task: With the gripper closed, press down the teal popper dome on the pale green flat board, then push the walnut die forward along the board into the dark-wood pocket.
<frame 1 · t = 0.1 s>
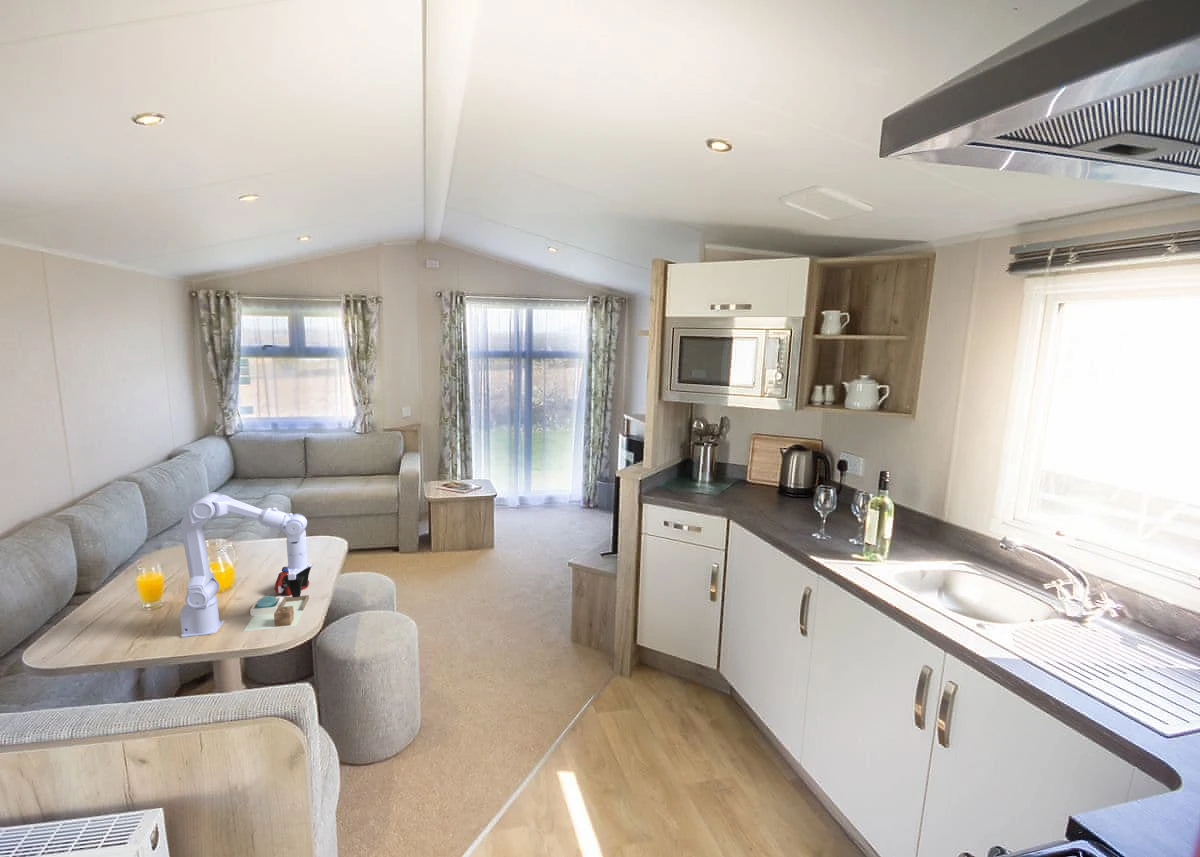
hand: (299, 591, 182), 10 cm above the table, fingers open, 7 cm apart
die: (284, 622, 181), point 1 cm above the table, touching pale green flat board
toy fire truck: (292, 591, 204), on the table
dome: (266, 601, 188), point 4 cm above the table, slide at 0.4 cm
pale green flat board: (278, 615, 186), on the table
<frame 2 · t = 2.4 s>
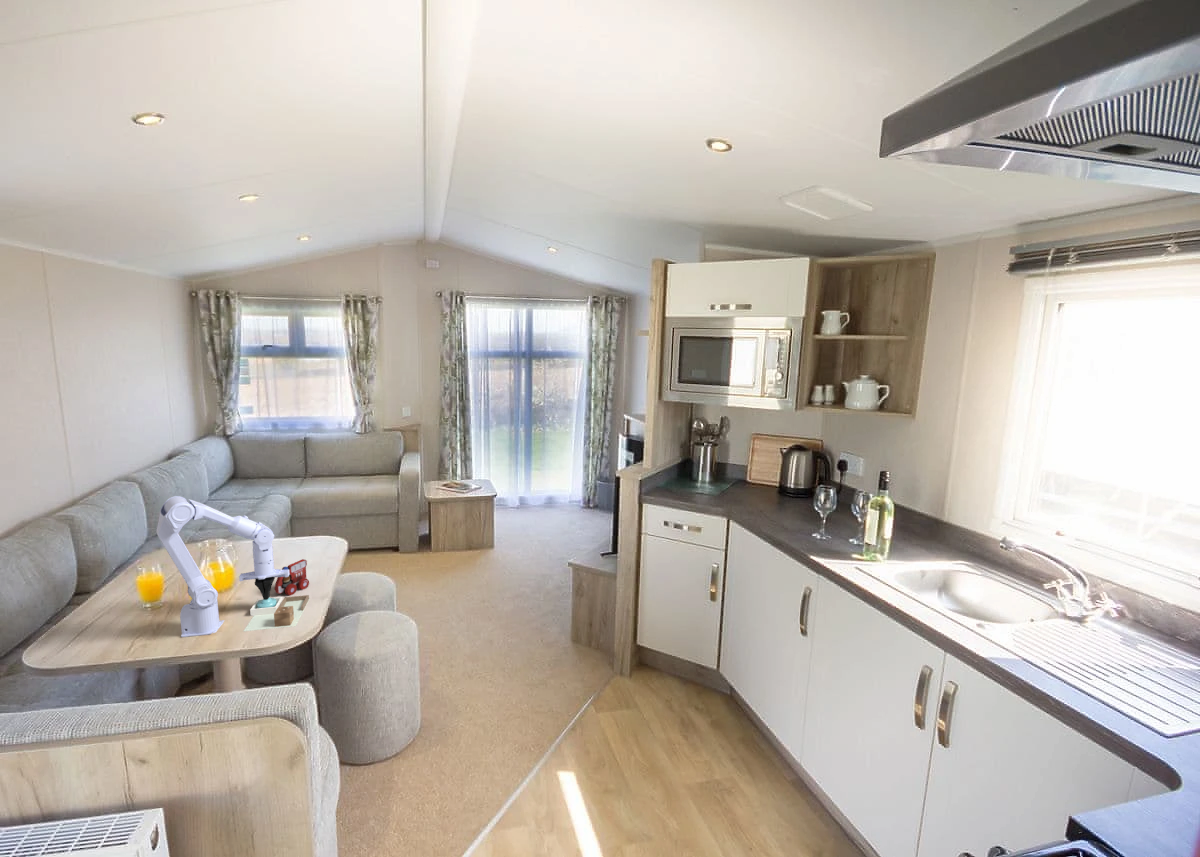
hand: (266, 598, 188), 5 cm above the table, fingers closed, pressing on dome
dome: (266, 602, 188), point 3 cm above the table, slide at 1.1 cm, touching gripper
everything else where it was.
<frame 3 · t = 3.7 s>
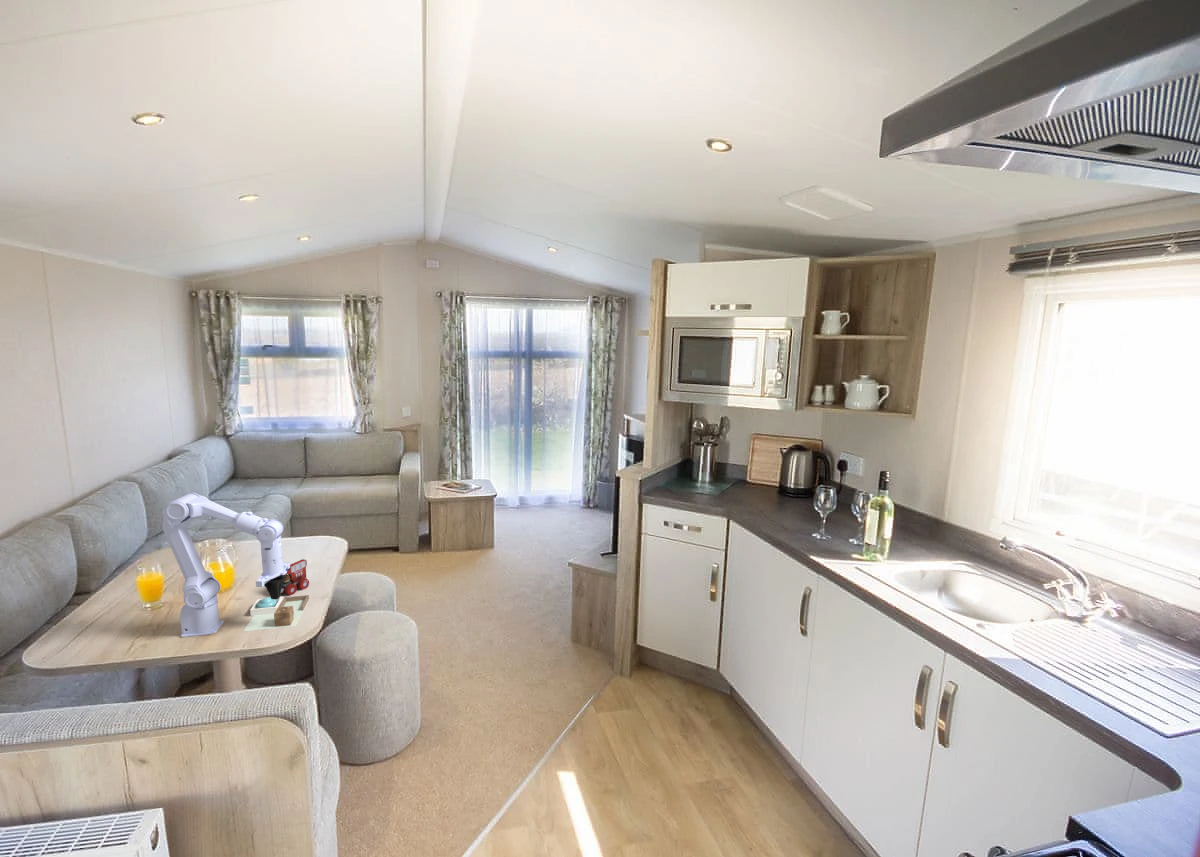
hand: (275, 598, 178), 10 cm above the table, fingers closed
dome: (266, 602, 188), point 3 cm above the table, slide at 1.0 cm
everything else where it was.
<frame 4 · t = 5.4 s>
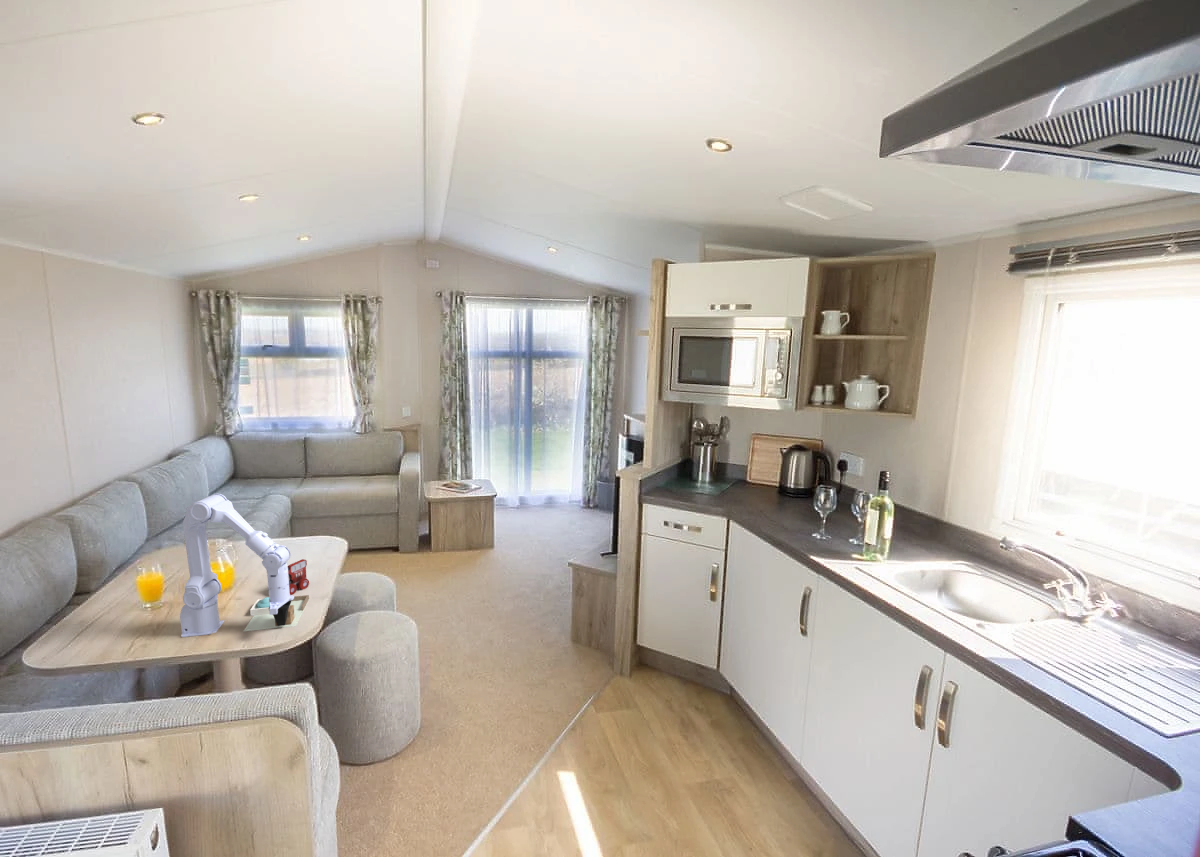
hand: (281, 624, 177), 2 cm above the table, fingers closed
die: (285, 621, 181), point 1 cm above the table, touching pale green flat board, gripper
everything else where it was.
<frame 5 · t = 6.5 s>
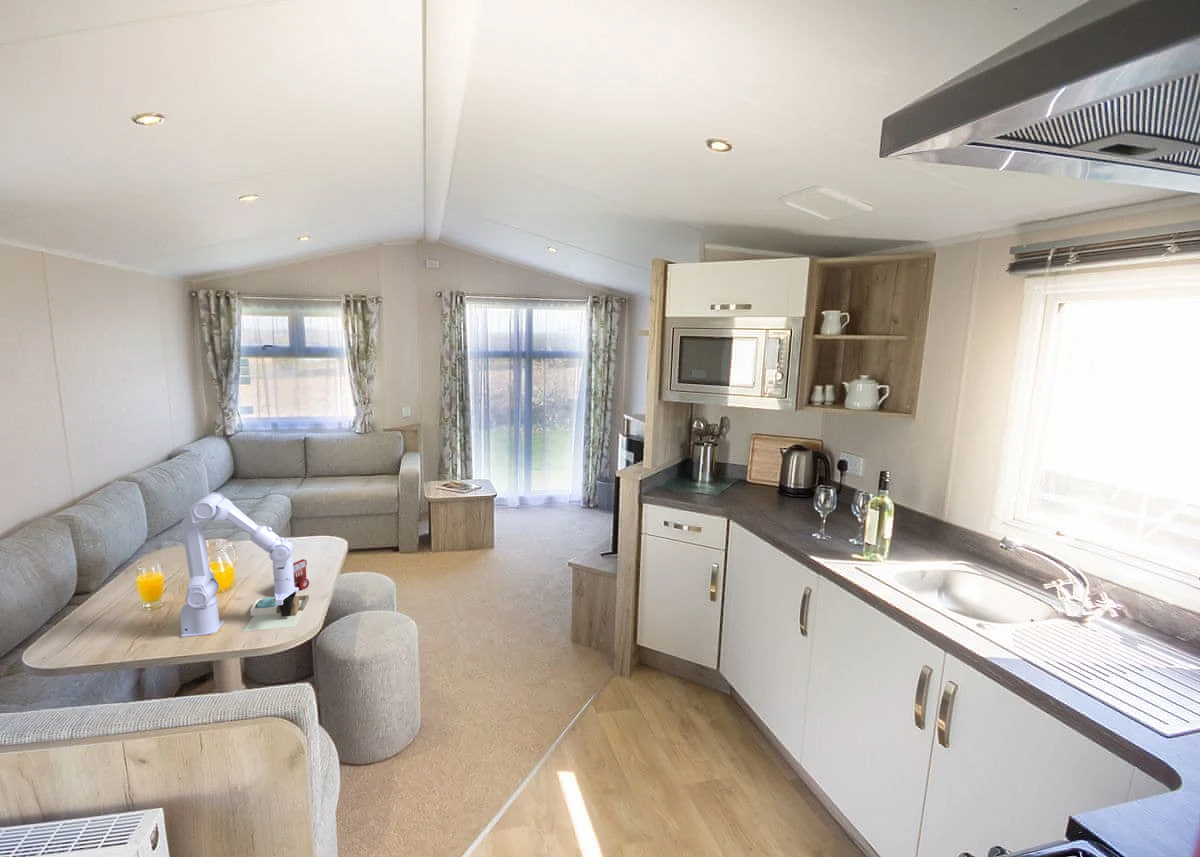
hand: (286, 615, 183), 2 cm above the table, fingers closed
die: (290, 612, 187), point 1 cm above the table, touching gripper
everything else where it was.
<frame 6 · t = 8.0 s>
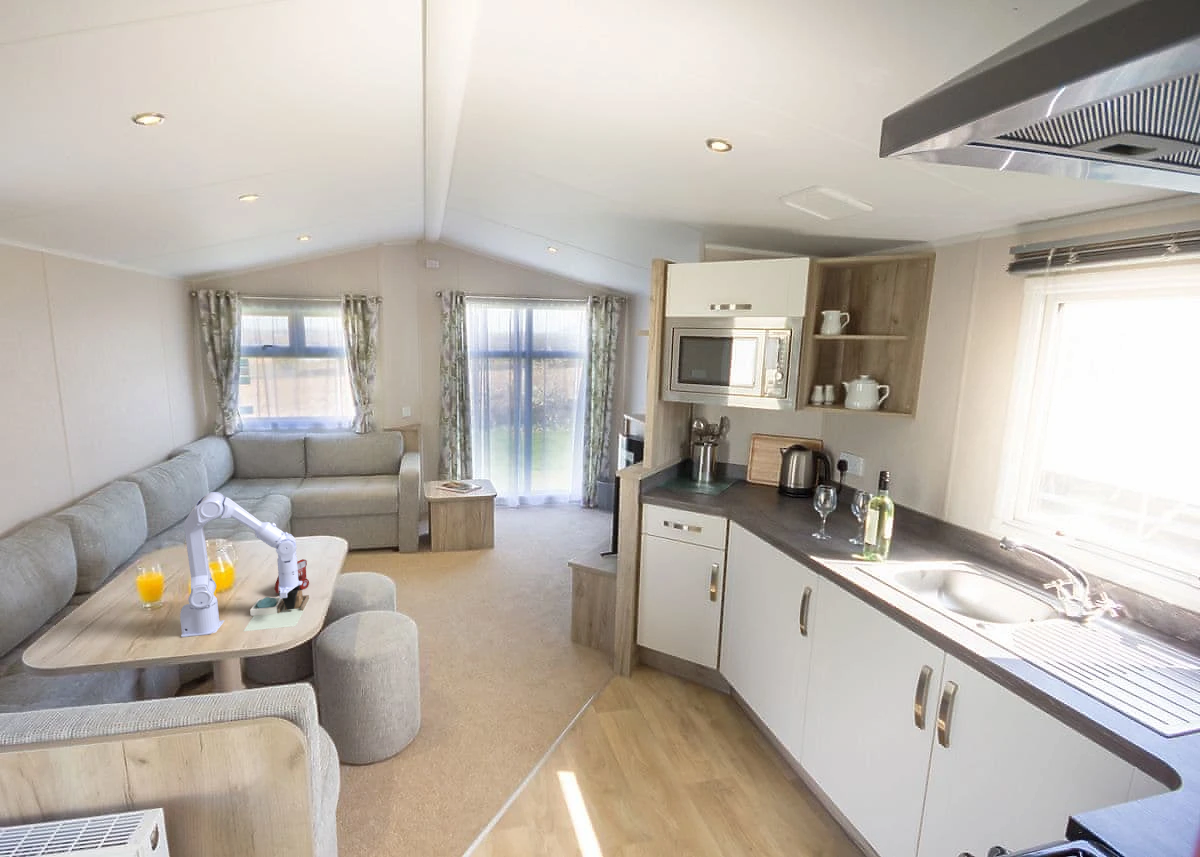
hand: (290, 608, 188), 2 cm above the table, fingers closed
die: (294, 606, 192), point 1 cm above the table, touching pale green flat board, gripper
everything else where it was.
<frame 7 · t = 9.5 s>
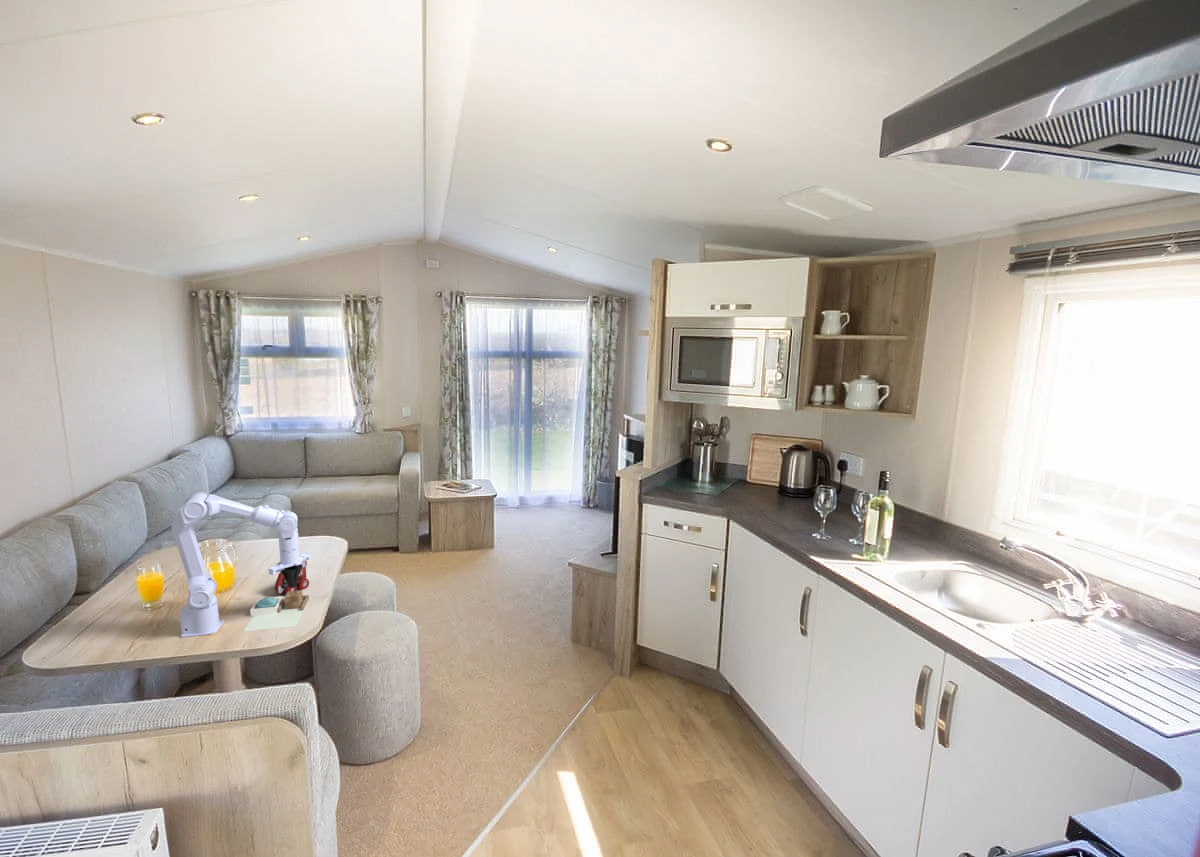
hand: (292, 586, 185), 10 cm above the table, fingers closed
die: (294, 606, 192), point 1 cm above the table, touching pale green flat board
everything else where it was.
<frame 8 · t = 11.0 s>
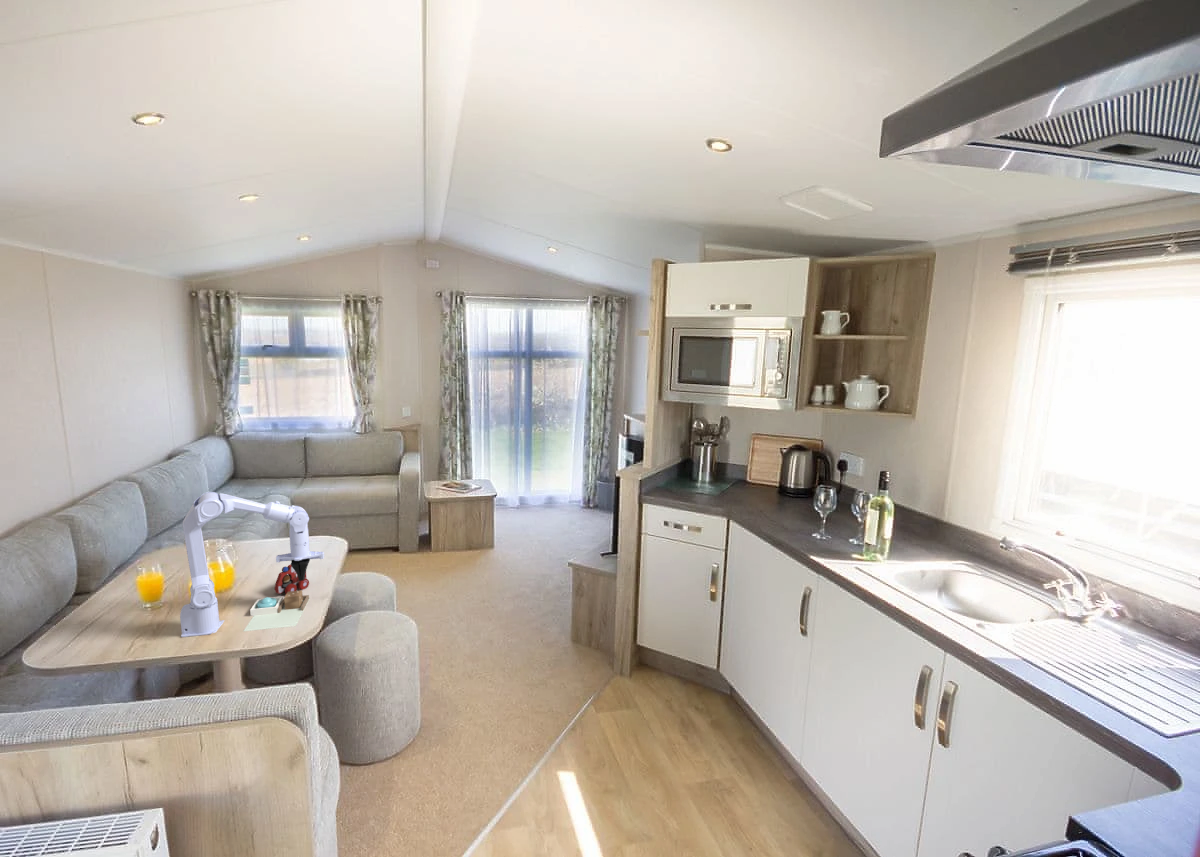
hand: (302, 579, 191), 10 cm above the table, fingers closed
nothing on the table moved.
at the end: die 0.1 cm from the target spot, point 0.6 cm above the table; die tilted 0° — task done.
